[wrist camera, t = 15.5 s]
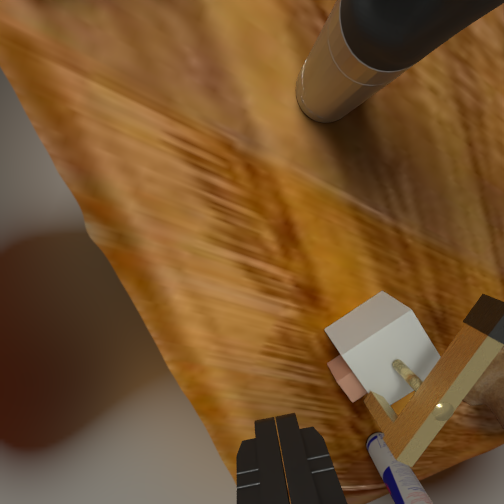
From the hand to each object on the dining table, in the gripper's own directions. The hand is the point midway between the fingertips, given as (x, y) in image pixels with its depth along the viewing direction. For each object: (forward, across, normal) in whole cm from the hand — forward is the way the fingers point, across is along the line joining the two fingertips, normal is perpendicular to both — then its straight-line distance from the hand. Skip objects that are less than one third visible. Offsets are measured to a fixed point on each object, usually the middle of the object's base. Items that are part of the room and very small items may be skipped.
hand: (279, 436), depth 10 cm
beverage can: (+35, +18, -42) cm, 58 cm away
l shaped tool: (+27, +21, -17) cm, 38 cm away
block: (+33, +14, -24) cm, 43 cm away
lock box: (+35, +19, -19) cm, 44 cm away
